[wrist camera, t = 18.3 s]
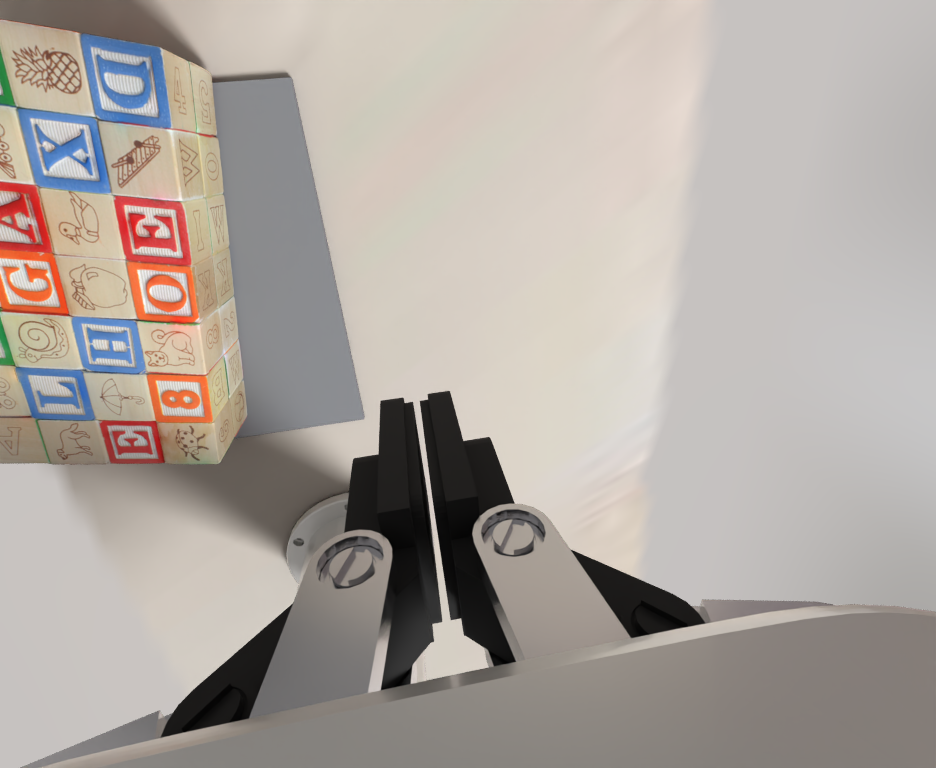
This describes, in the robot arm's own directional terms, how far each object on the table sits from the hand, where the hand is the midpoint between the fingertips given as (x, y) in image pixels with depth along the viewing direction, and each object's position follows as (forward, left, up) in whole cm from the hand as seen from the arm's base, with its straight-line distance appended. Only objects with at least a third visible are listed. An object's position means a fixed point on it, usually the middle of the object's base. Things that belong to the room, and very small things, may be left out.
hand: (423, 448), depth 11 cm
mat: (0, +13, -22) cm, 25 cm away
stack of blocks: (+1, +10, -18) cm, 21 cm away
